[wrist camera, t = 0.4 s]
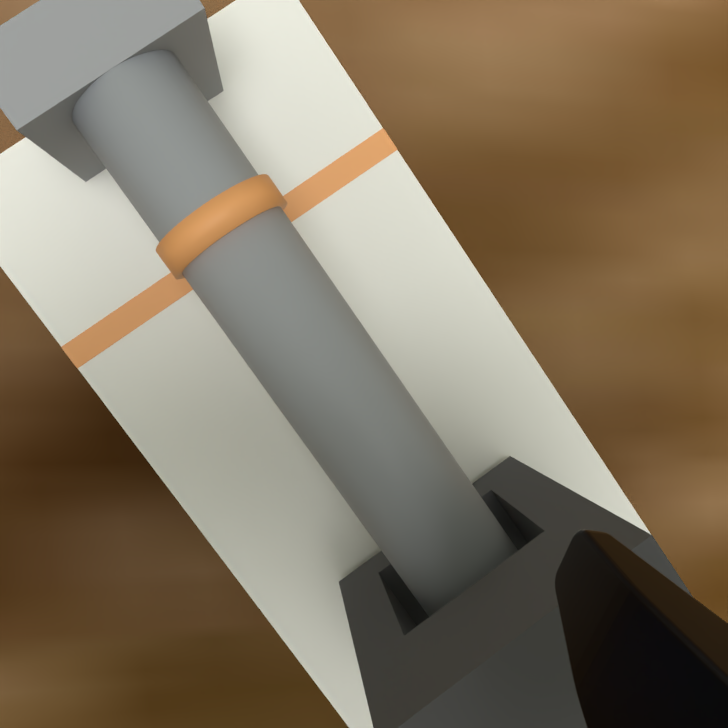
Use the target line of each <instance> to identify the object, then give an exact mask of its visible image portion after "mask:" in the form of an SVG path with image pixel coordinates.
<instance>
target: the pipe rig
mask: <svg viewBox="0 0 728 728" xmlns="http://www.w3.org/2000/svg"><path fill="white" fill-rule="evenodd" d="M0 108H1V109H2V111H3V112H4V113H5V115H6V116H7V117H8V119H9V120H10V122H11V123H12V124H13V126H14V127H15V128H16V130H17V131H19V132H20V133H21V134H23V135H24V136H25V138H24V139H22V140H21V141H19V142H18V143H16V144H15V145H13V146H12V147H10V148H9V149H7V150H5V151H4V152H2V153H1V154H0V266H1V268H2V269H3V270H4V272H5V273H6V274H7V276H8V277H9V278H10V280H11V281H12V282H13V284H14V285H15V286H16V288H17V289H18V290H19V292H20V293H21V294H22V296H23V297H24V298H25V299H26V301H27V302H28V303H29V305H30V306H31V307H32V309H33V310H34V311H35V313H36V314H37V315H38V317H39V318H40V319H41V321H42V322H43V323H44V325H45V326H46V327H47V329H48V330H49V331H50V333H51V334H52V335H53V337H54V338H55V339H56V340H57V342H58V343H59V344H60V346H61V348H62V349H63V350H64V352H65V353H66V354H67V356H68V357H69V358H70V360H71V361H72V362H73V364H74V365H75V366H76V368H77V369H78V370H79V371H80V372H81V374H82V375H83V376H84V378H85V379H86V380H87V381H88V383H89V384H90V385H91V387H92V388H93V389H94V391H95V392H96V393H97V395H98V396H99V397H100V399H101V400H102V401H103V403H104V404H105V405H106V407H107V408H108V409H109V411H110V412H111V413H112V415H113V416H114V417H115V419H116V420H117V421H118V422H119V424H120V425H121V426H122V428H123V429H124V430H125V432H126V433H127V434H128V436H129V437H130V438H131V440H132V441H133V442H134V444H135V445H136V446H137V448H138V449H139V450H140V452H141V453H142V454H143V456H144V457H145V458H146V460H147V461H148V462H149V463H150V465H151V466H152V467H153V469H154V470H155V471H156V473H157V474H158V475H159V477H160V478H161V479H162V481H163V482H164V483H165V485H166V486H167V487H168V489H169V490H170V491H171V493H172V494H173V495H174V497H175V498H176V499H177V501H178V502H179V503H180V504H181V506H182V507H183V508H184V510H185V511H186V512H187V514H188V515H189V516H190V518H191V519H192V520H193V522H194V523H195V524H196V526H197V527H198V528H199V530H200V531H201V532H202V534H203V535H204V536H205V538H206V539H207V540H208V542H209V543H210V544H211V546H212V547H213V548H214V549H215V551H216V552H217V553H218V555H219V556H220V557H221V559H222V560H223V561H224V563H225V564H226V565H227V567H228V568H229V569H230V571H231V572H232V573H233V575H234V576H235V577H236V579H237V580H238V581H239V583H240V584H241V585H242V587H243V588H244V589H245V590H246V592H247V593H248V594H249V596H250V597H251V598H252V600H253V601H254V602H255V604H256V605H257V606H258V608H259V609H260V610H261V612H262V613H263V614H264V616H265V617H266V618H267V620H268V621H269V622H270V624H271V625H272V626H273V628H274V629H275V630H276V631H277V633H278V634H279V635H280V637H281V638H282V639H283V641H284V642H285V643H286V645H287V646H288V647H289V649H290V650H291V651H292V653H293V654H294V655H295V657H296V658H297V659H298V661H299V662H300V663H301V665H302V666H303V667H304V669H305V670H306V671H307V672H308V674H309V675H310V676H311V678H312V679H313V680H314V682H315V683H316V684H317V686H318V687H319V688H320V690H321V691H322V692H323V694H324V695H325V696H326V698H327V699H328V700H329V702H330V703H331V704H332V706H333V707H334V708H335V710H336V711H337V712H338V713H339V715H340V716H341V717H342V719H343V720H344V721H345V723H346V724H347V725H348V727H349V728H373V724H372V720H371V716H370V711H369V707H368V703H367V699H366V695H365V690H364V686H363V682H362V678H361V674H360V669H359V665H358V661H357V657H356V653H355V648H354V644H353V640H352V636H351V632H350V627H349V623H348V619H347V615H346V611H345V606H344V602H343V598H342V594H341V590H340V585H339V581H340V580H342V579H343V578H344V577H346V576H347V575H348V574H350V573H351V572H353V571H354V570H355V569H357V568H358V567H359V566H361V565H362V564H363V563H365V562H366V561H368V560H369V559H370V558H372V557H373V556H374V555H376V554H377V553H378V552H380V551H382V552H383V554H384V555H385V556H386V558H387V559H388V560H389V562H390V563H391V565H392V566H393V567H394V569H395V570H396V572H397V573H398V574H399V576H400V577H401V578H402V580H403V581H404V583H405V584H406V585H407V587H408V588H409V590H410V591H411V592H412V594H413V595H414V597H415V598H416V599H417V601H418V602H419V603H420V605H421V606H422V608H423V609H424V610H425V612H426V613H427V615H428V616H429V617H430V616H431V615H433V614H434V613H435V612H437V611H438V610H439V609H441V608H442V607H443V606H445V605H446V604H447V603H449V602H450V601H451V600H453V599H454V598H455V597H457V596H458V595H459V594H461V593H462V592H463V591H465V590H466V589H467V588H469V587H470V586H471V585H473V584H474V583H476V582H477V581H478V580H480V579H481V578H482V577H484V576H485V575H486V574H488V573H489V572H490V571H492V570H493V569H494V568H496V567H497V566H498V565H500V564H501V563H502V562H504V561H505V560H506V559H508V558H509V557H510V556H512V555H513V554H514V553H516V552H517V551H518V550H517V548H516V547H515V545H514V544H513V542H512V541H511V540H510V538H509V537H508V535H507V534H506V532H505V531H504V529H503V528H502V527H501V525H500V524H499V522H498V521H497V519H496V518H495V516H494V515H493V514H492V512H491V511H490V509H489V508H488V506H487V505H486V503H485V502H484V501H483V499H482V498H481V496H480V495H479V493H478V492H477V490H476V489H475V487H474V486H473V485H472V484H473V483H474V482H475V481H477V480H478V479H479V478H481V477H482V476H483V475H485V474H486V473H488V472H489V471H490V470H492V469H493V468H494V467H496V466H497V465H498V464H500V463H501V462H503V461H504V460H505V459H507V458H508V457H509V456H511V457H513V458H515V459H516V460H518V461H520V462H522V463H524V464H525V465H527V466H529V467H531V468H533V469H534V470H536V471H538V472H540V473H542V474H543V475H545V476H547V477H549V478H551V479H552V480H554V481H556V482H558V483H560V484H561V485H563V486H565V487H567V488H569V489H570V490H572V491H574V492H576V493H577V494H579V495H581V496H583V497H585V498H586V499H588V500H590V501H592V502H594V503H595V504H597V505H599V506H601V507H603V508H604V509H606V510H608V511H610V512H612V513H613V514H615V515H617V516H619V517H621V518H622V519H624V520H626V521H628V522H630V523H631V524H633V525H635V526H637V527H638V528H640V529H642V530H644V531H646V532H647V533H649V534H650V532H649V531H648V529H647V528H646V526H645V524H644V523H643V521H642V520H641V518H640V517H639V515H638V514H637V512H636V511H635V509H634V508H633V506H632V505H631V503H630V502H629V500H628V499H627V497H626V496H625V494H624V493H623V491H622V490H621V488H620V487H619V485H618V484H617V482H616V481H615V479H614V477H613V476H612V474H611V473H610V471H609V470H608V468H607V467H606V465H605V464H604V462H603V461H602V459H601V458H600V456H599V455H598V453H597V452H596V450H595V449H594V447H593V446H592V444H591V443H590V441H589V440H588V438H587V437H586V435H585V434H584V432H583V431H582V429H581V427H580V426H579V424H578V423H577V421H576V420H575V418H574V417H573V415H572V414H571V412H570V411H569V409H568V408H567V406H566V405H565V403H564V402H563V400H562V399H561V397H560V396H559V394H558V393H557V391H556V390H555V388H554V387H553V385H552V384H551V382H550V381H549V379H548V377H547V376H546V374H545V373H544V371H543V370H542V368H541V367H540V365H539V364H538V362H537V361H536V359H535V358H534V356H533V355H532V353H531V352H530V350H529V349H528V347H527V346H526V344H525V343H524V341H523V340H522V338H521V337H520V335H519V334H518V332H517V331H516V329H515V327H514V326H513V324H512V323H511V321H510V320H509V318H508V317H507V315H506V314H505V312H504V311H503V309H502V308H501V306H500V305H499V303H498V302H497V300H496V299H495V297H494V296H493V294H492V293H491V291H490V290H489V288H488V287H487V285H486V284H485V282H484V281H483V279H482V277H481V276H480V274H479V273H478V271H477V270H476V268H475V267H474V265H473V264H472V262H471V261H470V259H469V258H468V256H467V255H466V253H465V252H464V250H463V249H462V247H461V246H460V244H459V243H458V241H457V240H456V238H455V237H454V235H453V234H452V232H451V231H450V229H449V227H448V226H447V224H446V223H445V221H444V220H443V218H442V217H441V215H440V214H439V212H438V211H437V209H436V208H435V206H434V205H433V203H432V202H431V200H430V199H429V197H428V196H427V194H426V193H425V191H424V190H423V188H422V187H421V185H420V184H419V182H418V181H417V179H416V177H415V176H414V174H413V173H412V171H411V170H410V168H409V167H408V165H407V164H406V162H405V161H404V159H403V158H402V156H401V155H400V153H399V152H398V150H397V148H396V147H395V145H394V143H393V142H392V140H391V139H390V137H389V136H388V134H387V133H386V131H385V130H384V128H383V127H382V126H381V124H380V123H379V121H378V120H377V118H376V117H375V115H374V114H373V112H372V111H371V109H370V108H369V106H368V105H367V103H366V102H365V100H364V99H363V97H362V96H361V94H360V93H359V91H358V90H357V88H356V87H355V85H354V84H353V82H352V81H351V79H350V77H349V76H348V74H347V73H346V71H345V70H344V68H343V67H342V65H341V64H340V62H339V61H338V59H337V58H336V56H335V55H334V53H333V52H332V50H331V49H330V47H329V46H328V44H327V43H326V41H325V40H324V38H323V37H322V35H321V34H320V32H319V31H318V29H317V27H316V26H315V24H314V23H313V21H312V20H311V18H310V17H309V15H308V14H307V12H306V11H305V9H304V8H303V6H302V5H301V3H300V2H299V0H236V1H234V2H233V3H231V4H229V5H228V6H226V7H225V8H223V9H222V10H220V11H219V12H217V13H216V14H214V15H213V16H211V17H210V18H208V19H207V17H206V12H205V8H204V7H203V5H202V4H201V2H200V1H199V0H40V1H38V2H37V3H35V4H33V5H32V6H30V7H29V8H27V9H26V10H24V11H22V12H21V13H19V14H18V15H16V16H15V17H13V18H11V19H10V20H8V21H7V22H5V23H4V24H2V25H0Z"/></svg>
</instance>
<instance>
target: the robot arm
mask: <svg viewBox="0 0 728 728" xmlns="http://www.w3.org/2000/svg"><path fill="white" fill-rule="evenodd" d="M554 586H555V593H556V598H557V603H558V608H559V613H560V618H561V623H562V627H563V632H564V637H565V642H566V647H567V652H568V657H569V661H570V666H571V671H572V676H573V680H574V684H575V688H576V692H577V696H578V699H579V703H580V706H581V710H582V713H583V716H584V719H585V722H586V725H587V728H728V623H726V622H725V621H724V620H722V619H721V618H720V617H719V616H717V615H716V614H715V613H713V612H712V611H711V610H709V609H708V608H707V607H705V606H704V605H703V604H701V603H700V602H699V601H697V600H696V599H695V598H693V597H692V596H691V595H689V594H688V593H687V592H685V591H684V590H683V589H681V588H680V587H679V586H677V585H676V584H675V583H673V582H672V581H671V580H669V579H668V578H667V577H666V576H664V575H663V574H662V573H660V572H659V571H658V570H656V569H655V568H654V567H652V566H651V565H650V564H648V563H647V562H646V561H644V560H643V559H642V558H640V557H639V556H638V555H636V554H635V553H634V552H632V551H631V550H630V549H628V548H627V547H626V546H624V545H623V544H622V543H620V542H619V541H618V540H616V539H615V538H614V537H613V536H611V535H610V534H608V533H606V532H601V531H594V530H586V529H581V530H578V531H577V532H576V533H575V534H574V535H573V537H572V539H571V541H570V543H569V545H568V547H567V550H566V552H565V554H564V556H563V558H562V560H561V562H560V565H559V567H558V569H557V571H556V575H555V581H554Z"/></svg>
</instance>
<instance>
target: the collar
mask: <svg viewBox="0 0 728 728" xmlns="http://www.w3.org/2000/svg"><path fill="white" fill-rule="evenodd" d="M472 485H473V486H474V487H475V489H476V490H477V492H478V493H479V495H480V496H481V498H482V499H483V501H484V502H485V503H486V505H487V506H488V508H489V509H490V511H491V512H492V514H493V515H494V516H495V518H496V519H497V521H498V522H499V524H500V525H501V527H502V528H503V529H504V531H505V532H506V534H507V535H508V537H509V538H510V540H511V541H512V542H513V544H514V545H515V547H516V548H517V550H518V551H517V552H516V553H514V554H513V555H512V556H510V557H509V558H508V559H506V560H505V561H504V562H502V563H501V564H500V565H498V566H497V567H496V568H494V569H493V570H492V571H490V572H489V573H488V574H486V575H485V576H484V577H482V578H481V579H480V580H478V581H477V582H476V583H474V584H473V585H471V586H470V587H469V588H467V589H466V590H465V591H463V592H462V593H461V594H459V595H458V596H457V597H455V598H454V599H453V600H451V601H450V602H449V603H447V604H446V605H445V606H443V607H442V608H441V609H439V610H438V611H437V612H435V613H434V614H433V615H431V616H430V617H429V616H428V615H427V613H426V612H425V610H424V609H423V608H422V606H421V605H420V603H419V602H418V601H417V599H416V598H415V597H414V595H413V594H412V592H411V591H410V590H409V588H408V587H407V585H406V584H405V583H404V581H403V580H402V578H401V577H400V576H399V574H398V573H397V572H396V570H395V569H394V567H393V566H392V565H391V563H390V562H389V560H388V559H387V558H386V556H385V555H384V554H383V552H382V551H380V552H378V553H377V554H376V555H374V556H373V557H372V558H370V559H369V560H368V561H366V562H365V563H363V564H362V565H361V566H359V567H358V568H357V569H355V570H354V571H353V572H351V573H350V574H348V575H347V576H346V577H344V578H343V579H342V580H340V581H339V585H340V590H341V594H342V598H343V602H344V606H345V611H346V615H347V619H348V623H349V627H350V632H351V636H352V640H353V644H354V648H355V653H356V657H357V661H358V665H359V669H360V674H361V678H362V682H363V686H364V690H365V695H366V699H367V703H368V707H369V711H370V716H371V720H372V724H373V728H587V725H586V722H585V719H584V716H583V713H582V710H581V706H580V703H579V699H578V696H577V692H576V688H575V684H574V680H573V676H572V671H571V666H570V661H569V657H568V652H567V647H566V642H565V637H564V632H563V627H562V623H561V618H560V613H559V608H558V603H557V598H556V593H555V586H554V581H555V575H556V571H557V569H558V567H559V565H560V562H561V560H562V558H563V556H564V554H565V552H566V550H567V547H568V545H569V543H570V541H571V539H572V537H573V535H574V534H575V533H576V532H577V531H578V530H581V529H586V530H594V531H601V532H606V533H608V534H610V535H611V536H613V537H614V538H615V539H616V540H618V541H619V542H620V543H622V544H623V545H624V546H626V547H627V548H628V549H630V550H631V551H632V552H634V553H635V554H636V555H638V556H639V557H640V558H642V559H643V560H644V561H646V562H647V563H648V564H650V565H651V566H652V567H654V568H655V569H656V570H658V571H659V572H660V573H662V574H663V575H664V576H666V577H667V578H668V579H669V580H671V581H672V582H673V583H675V584H676V585H677V586H679V587H680V588H681V589H683V590H684V591H685V592H687V593H688V594H689V595H691V594H690V592H689V591H688V589H687V588H686V586H685V585H684V583H683V581H682V580H681V578H680V577H679V575H678V574H677V572H676V571H675V569H674V568H673V566H672V565H671V563H670V562H669V560H668V559H667V557H666V556H665V554H664V553H663V551H662V550H661V548H660V547H659V545H658V544H657V542H656V541H655V539H654V538H653V536H652V535H651V534H649V533H647V532H646V531H644V530H642V529H640V528H638V527H637V526H635V525H633V524H631V523H630V522H628V521H626V520H624V519H622V518H621V517H619V516H617V515H615V514H613V513H612V512H610V511H608V510H606V509H604V508H603V507H601V506H599V505H597V504H595V503H594V502H592V501H590V500H588V499H586V498H585V497H583V496H581V495H579V494H577V493H576V492H574V491H572V490H570V489H569V488H567V487H565V486H563V485H561V484H560V483H558V482H556V481H554V480H552V479H551V478H549V477H547V476H545V475H543V474H542V473H540V472H538V471H536V470H534V469H533V468H531V467H529V466H527V465H525V464H524V463H522V462H520V461H518V460H516V459H515V458H513V457H511V456H509V457H508V458H507V459H505V460H504V461H503V462H501V463H500V464H498V465H497V466H496V467H494V468H493V469H492V470H490V471H489V472H488V473H486V474H485V475H483V476H482V477H481V478H479V479H478V480H477V481H475V482H474V483H473V484H472ZM691 596H692V595H691Z"/></svg>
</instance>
